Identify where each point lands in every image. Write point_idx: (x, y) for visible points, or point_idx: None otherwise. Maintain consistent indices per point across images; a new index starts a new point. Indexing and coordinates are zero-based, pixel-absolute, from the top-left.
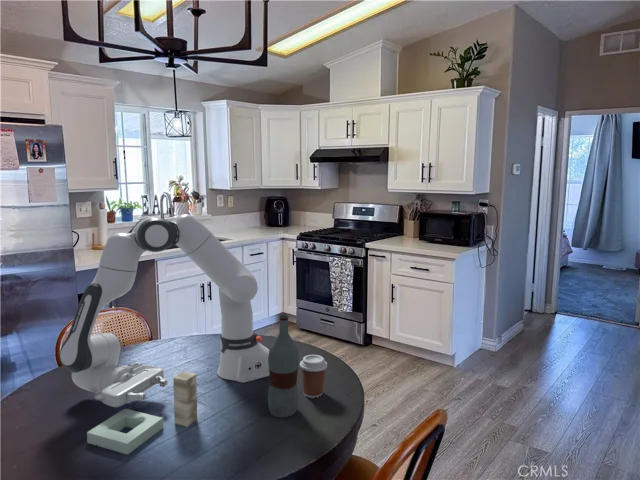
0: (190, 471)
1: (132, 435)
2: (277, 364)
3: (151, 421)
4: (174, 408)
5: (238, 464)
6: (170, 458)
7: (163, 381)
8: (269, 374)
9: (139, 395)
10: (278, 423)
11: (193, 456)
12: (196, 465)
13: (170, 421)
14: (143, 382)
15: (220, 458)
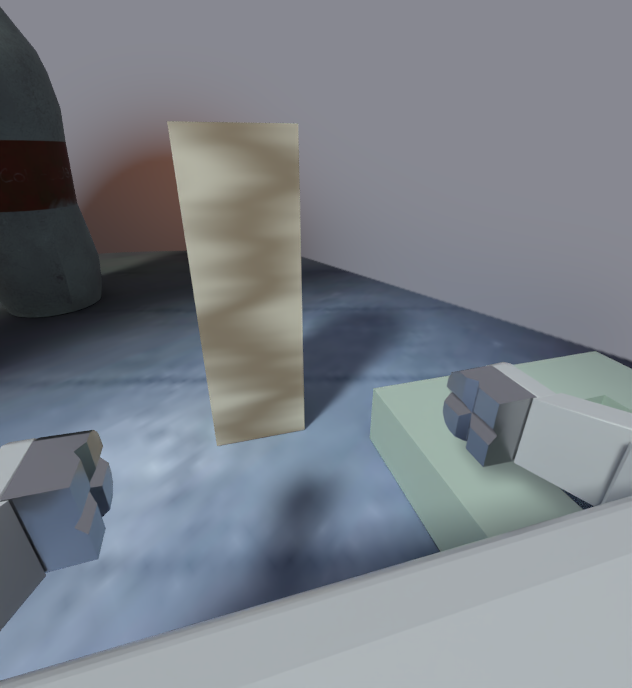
0: (414, 296)
1: (568, 372)
2: (57, 103)
3: (442, 397)
4: (302, 349)
5: (323, 276)
6: (435, 329)
7: (82, 434)
8: (33, 165)
9: (525, 377)
10: (135, 290)
11: (378, 312)
12: (392, 298)
13: (303, 456)
14: (354, 577)
15: (335, 291)
